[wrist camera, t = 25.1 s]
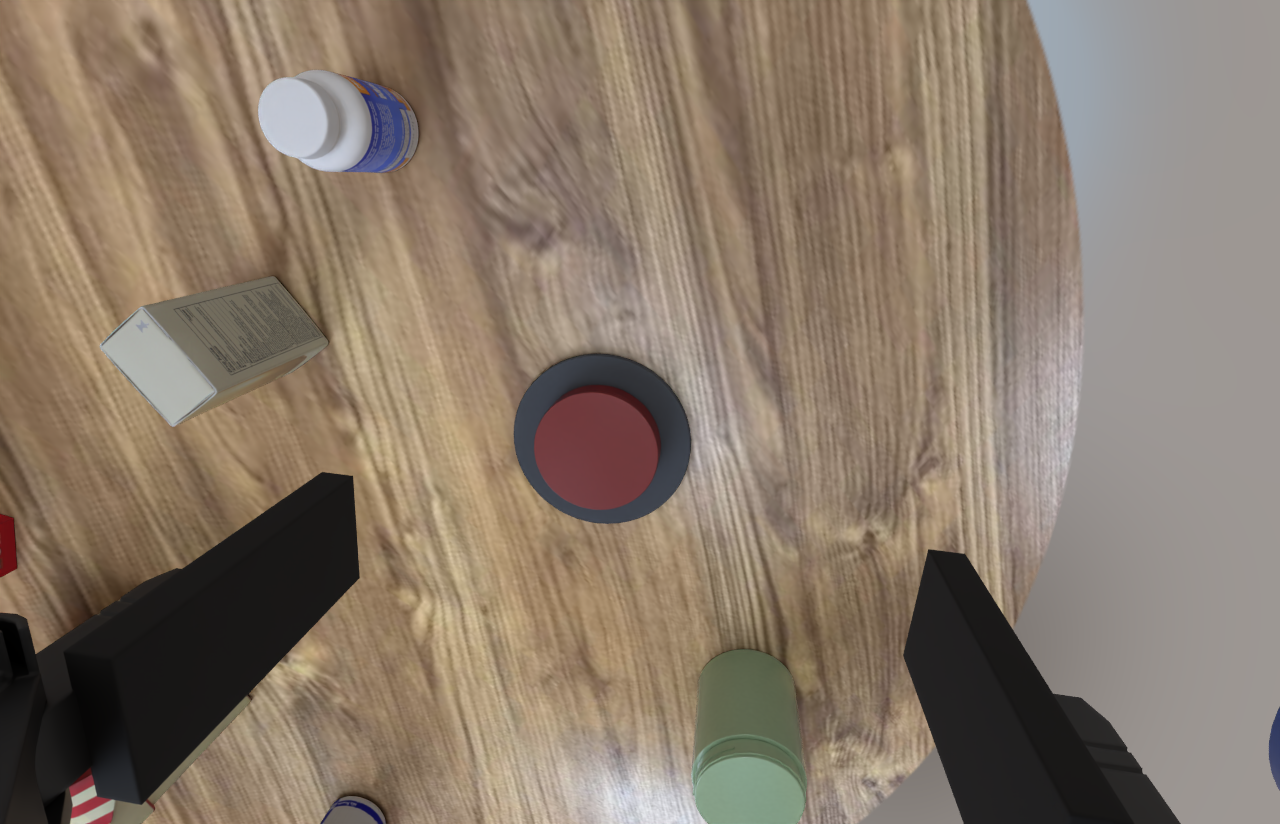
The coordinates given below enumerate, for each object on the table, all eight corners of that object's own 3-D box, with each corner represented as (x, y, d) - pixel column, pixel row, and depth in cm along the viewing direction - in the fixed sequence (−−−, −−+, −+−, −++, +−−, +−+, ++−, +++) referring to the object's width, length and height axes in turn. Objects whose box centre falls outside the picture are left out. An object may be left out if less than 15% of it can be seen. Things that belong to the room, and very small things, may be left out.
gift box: (283, 678, 61) (120, 855, 45) (172, 769, 67) (-8, 956, 51) (136, 543, 59) (-92, 679, 43) (34, 650, 64) (-203, 806, 48)
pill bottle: (418, 87, 44) (336, 60, 35) (423, 175, 46) (345, 172, 37) (339, 84, 45) (237, 58, 36) (346, 172, 47) (251, 168, 37)
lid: (531, 390, 49) (523, 397, 47) (653, 379, 48) (649, 386, 46) (551, 502, 52) (545, 513, 50) (667, 495, 50) (665, 506, 48)
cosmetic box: (237, 306, 51) (90, 341, 39) (276, 273, 49) (136, 299, 38) (294, 377, 52) (169, 431, 40) (334, 346, 51) (216, 393, 39)
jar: (802, 656, 54) (818, 764, 44) (788, 735, 56) (799, 854, 46) (703, 642, 54) (696, 744, 44) (693, 720, 57) (684, 834, 47)
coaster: (699, 363, 48) (699, 365, 47) (682, 530, 52) (681, 534, 51) (517, 344, 49) (514, 346, 48) (514, 508, 53) (512, 512, 52)
